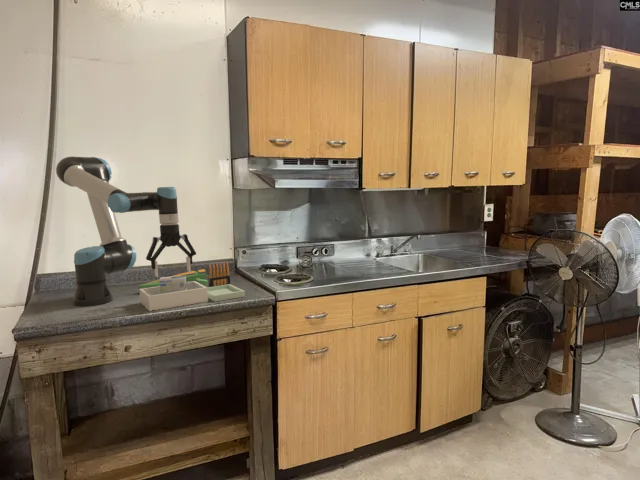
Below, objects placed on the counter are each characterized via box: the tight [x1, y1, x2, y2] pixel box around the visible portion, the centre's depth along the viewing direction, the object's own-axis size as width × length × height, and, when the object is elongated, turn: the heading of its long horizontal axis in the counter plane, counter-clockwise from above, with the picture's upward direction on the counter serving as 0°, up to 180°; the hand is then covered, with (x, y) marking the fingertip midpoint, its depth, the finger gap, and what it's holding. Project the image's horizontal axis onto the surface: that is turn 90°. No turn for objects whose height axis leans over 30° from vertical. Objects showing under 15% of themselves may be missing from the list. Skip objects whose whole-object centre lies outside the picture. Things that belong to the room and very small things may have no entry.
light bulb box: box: [158, 275, 187, 294], centre depth 190 cm, size 11×7×11 cm, turn 104°
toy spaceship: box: [137, 269, 209, 290], centre depth 216 cm, size 32×10×7 cm, turn 127°
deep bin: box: [138, 281, 209, 312], centre depth 190 cm, size 24×16×6 cm, turn 124°
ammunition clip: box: [207, 261, 232, 287], centre depth 216 cm, size 11×2×12 cm, turn 126°
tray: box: [206, 284, 246, 302], centre depth 201 cm, size 14×17×2 cm
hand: (173, 274), depth 189 cm, fingers open, 13 cm apart
